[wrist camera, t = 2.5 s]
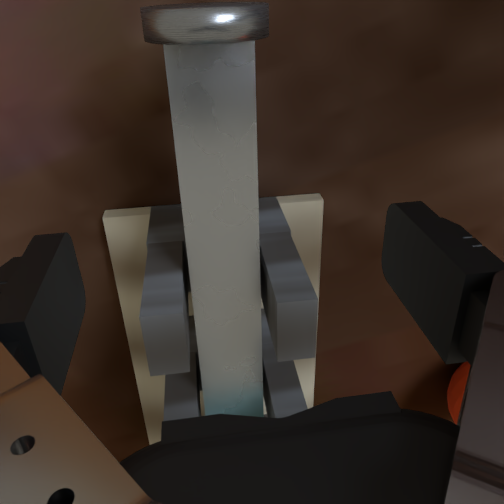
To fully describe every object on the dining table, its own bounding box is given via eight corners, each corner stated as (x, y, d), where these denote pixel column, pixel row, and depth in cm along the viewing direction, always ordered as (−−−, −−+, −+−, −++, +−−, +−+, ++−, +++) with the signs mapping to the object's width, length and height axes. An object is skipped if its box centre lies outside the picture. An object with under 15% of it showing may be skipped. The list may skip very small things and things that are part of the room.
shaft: (144, 4, 18) (134, 11, 14) (259, 0, 18) (279, 5, 15) (205, 484, 33) (208, 550, 29) (268, 475, 33) (279, 539, 29)
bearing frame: (105, 210, 26) (57, 352, 16) (319, 193, 27) (398, 315, 17) (153, 449, 36) (143, 627, 26) (308, 429, 37) (354, 592, 27)
